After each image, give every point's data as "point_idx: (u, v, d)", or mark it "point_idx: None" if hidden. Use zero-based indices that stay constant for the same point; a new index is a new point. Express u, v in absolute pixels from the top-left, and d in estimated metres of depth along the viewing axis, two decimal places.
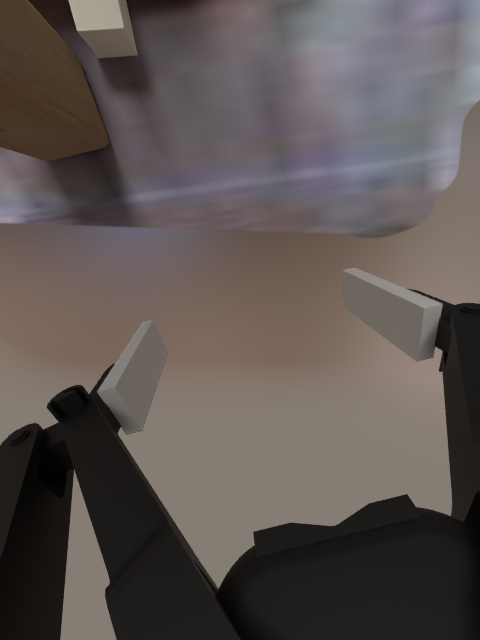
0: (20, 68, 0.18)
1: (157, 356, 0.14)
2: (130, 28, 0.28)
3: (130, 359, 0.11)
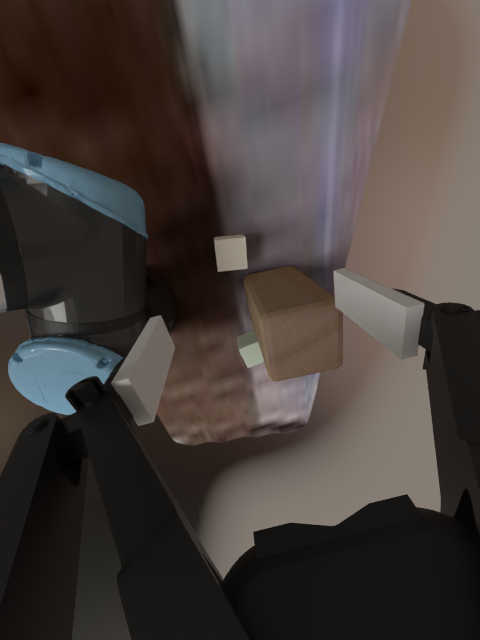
0: (318, 292, 0.29)
1: (165, 351, 0.15)
2: (232, 235, 0.39)
3: (141, 353, 0.11)
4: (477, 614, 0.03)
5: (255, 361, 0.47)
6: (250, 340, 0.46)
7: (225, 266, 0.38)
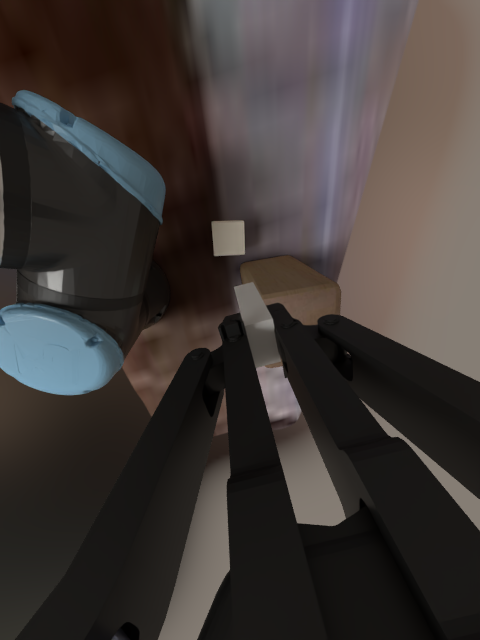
0: (316, 277, 0.28)
1: None
2: None
3: (252, 307, 0.13)
4: None
5: None
6: None
7: (222, 251, 0.37)
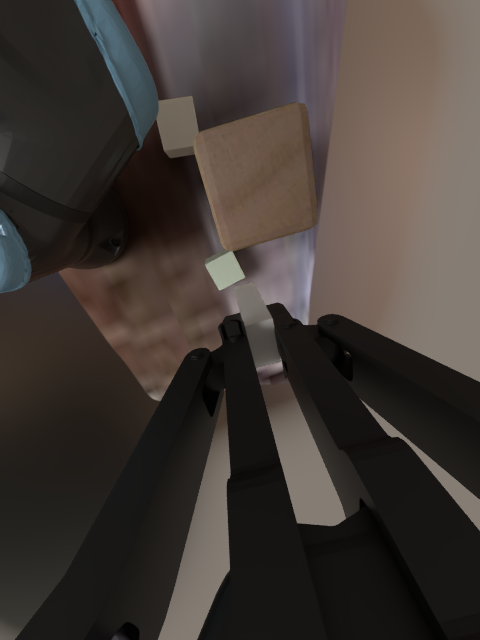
0: None
1: None
2: None
3: (252, 307, 0.13)
4: None
5: (227, 281, 0.39)
6: (219, 255, 0.39)
7: (173, 142, 0.30)
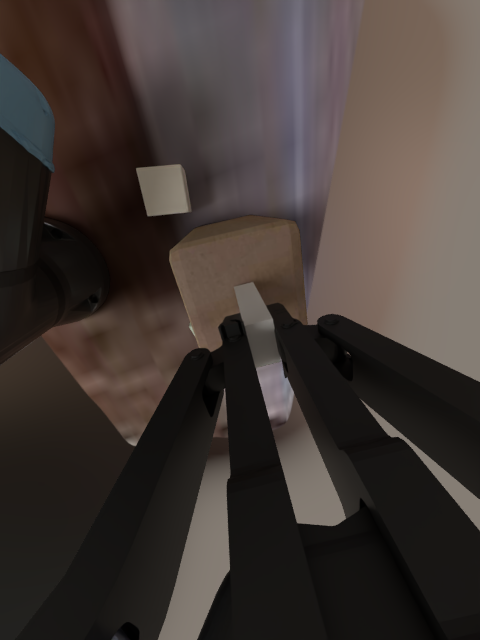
0: (267, 220, 0.19)
1: None
2: None
3: (252, 307, 0.13)
4: None
5: None
6: None
7: (157, 208, 0.28)
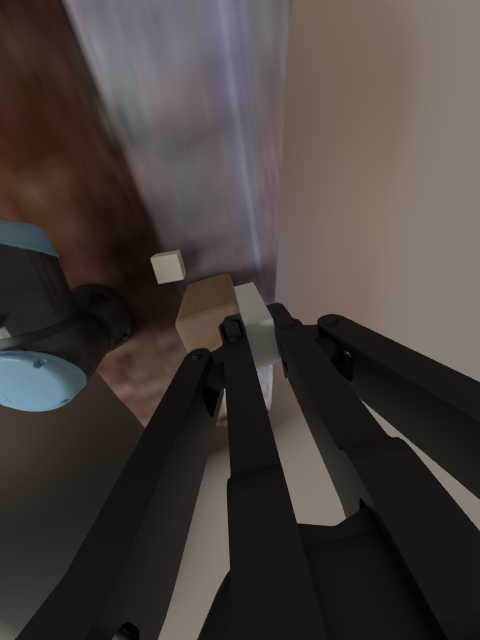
0: (226, 298, 0.35)
1: None
2: (170, 252, 0.46)
3: (252, 307, 0.13)
4: None
5: None
6: None
7: (164, 279, 0.44)
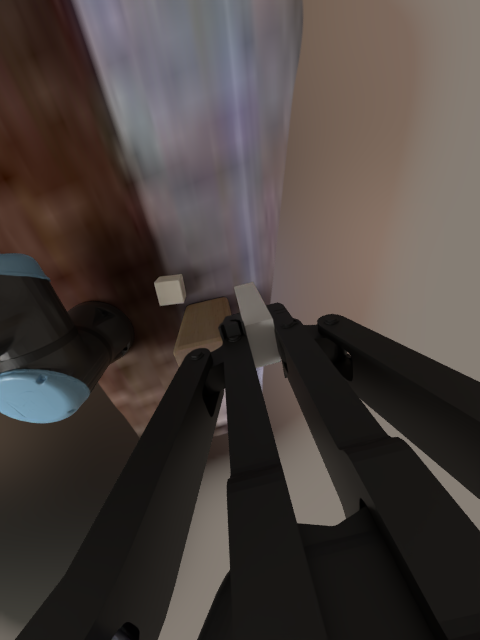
0: None
1: None
2: (172, 276, 0.49)
3: (252, 307, 0.13)
4: None
5: None
6: None
7: (165, 301, 0.48)
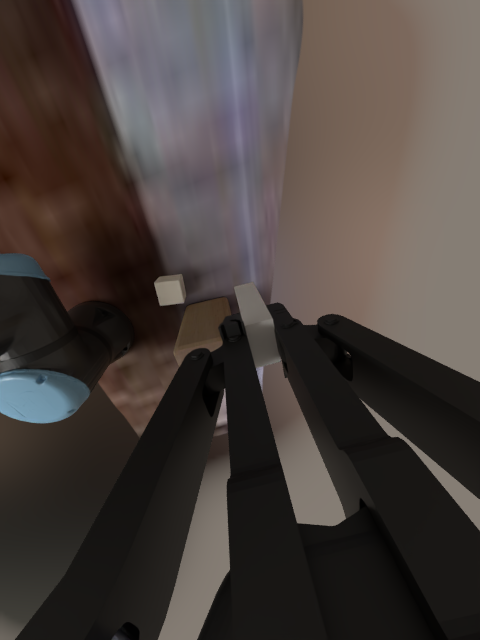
0: None
1: None
2: (172, 276, 0.49)
3: (252, 307, 0.13)
4: None
5: None
6: None
7: (166, 302, 0.48)
